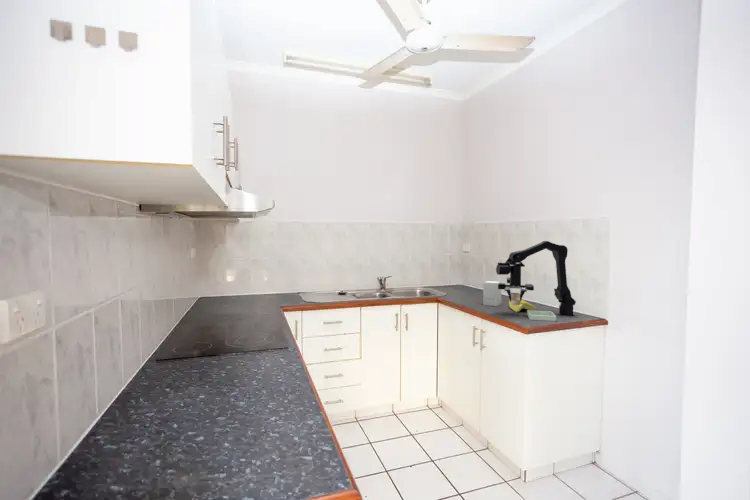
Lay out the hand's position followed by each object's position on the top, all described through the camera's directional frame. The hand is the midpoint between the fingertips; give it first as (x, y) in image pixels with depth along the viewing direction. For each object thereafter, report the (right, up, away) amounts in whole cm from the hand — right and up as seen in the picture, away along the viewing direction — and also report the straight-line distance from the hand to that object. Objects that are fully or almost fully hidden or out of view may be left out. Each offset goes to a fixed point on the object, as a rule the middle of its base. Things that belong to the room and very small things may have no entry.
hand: (515, 301), depth 209 cm
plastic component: (+10, -7, +17) cm, 21 cm away
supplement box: (-3, -6, +32) cm, 32 cm away
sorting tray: (+12, -8, -7) cm, 16 cm away
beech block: (0, -1, 0) cm, 1 cm away
